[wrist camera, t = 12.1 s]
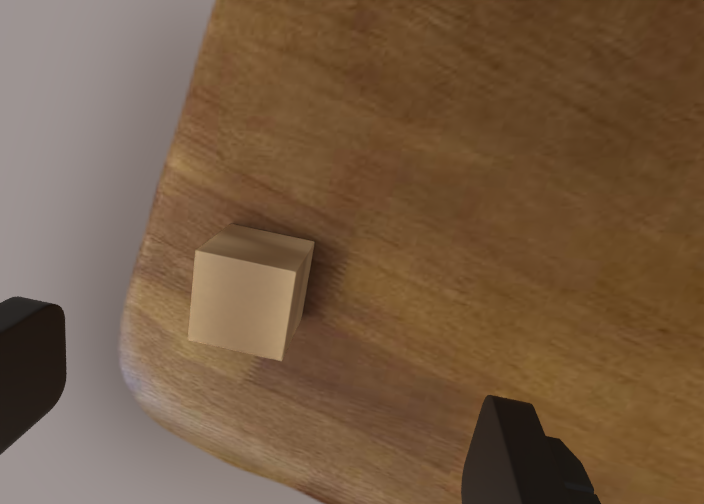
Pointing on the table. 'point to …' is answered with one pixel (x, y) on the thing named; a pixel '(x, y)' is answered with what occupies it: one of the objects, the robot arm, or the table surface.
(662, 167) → the table surface
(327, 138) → the table surface
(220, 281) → the block
